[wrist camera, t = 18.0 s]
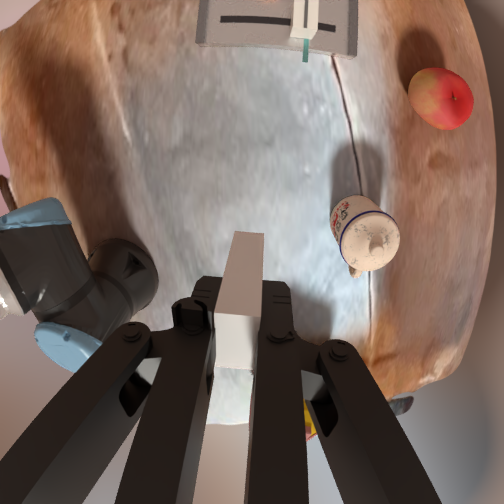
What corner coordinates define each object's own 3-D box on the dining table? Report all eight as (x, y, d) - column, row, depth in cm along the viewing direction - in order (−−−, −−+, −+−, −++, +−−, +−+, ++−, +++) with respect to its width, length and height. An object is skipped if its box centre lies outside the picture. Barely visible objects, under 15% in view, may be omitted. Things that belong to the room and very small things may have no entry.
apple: (429, 63, 31) (464, 57, 22) (453, 114, 34) (489, 119, 26) (387, 81, 34) (417, 75, 25) (413, 134, 37) (447, 143, 28)
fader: (289, 36, 30) (292, 26, 25) (291, 7, 28) (294, -6, 23) (311, 39, 30) (317, 29, 25) (313, 10, 28) (318, -2, 23)
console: (199, 60, 34) (194, 56, 31) (211, -42, 25) (207, -51, 22) (349, 72, 34) (356, 69, 31) (351, -31, 25) (356, -39, 22)
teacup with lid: (332, 189, 43) (352, 215, 32) (384, 197, 42) (416, 223, 32) (320, 257, 48) (333, 298, 38) (369, 261, 48) (391, 300, 38)
